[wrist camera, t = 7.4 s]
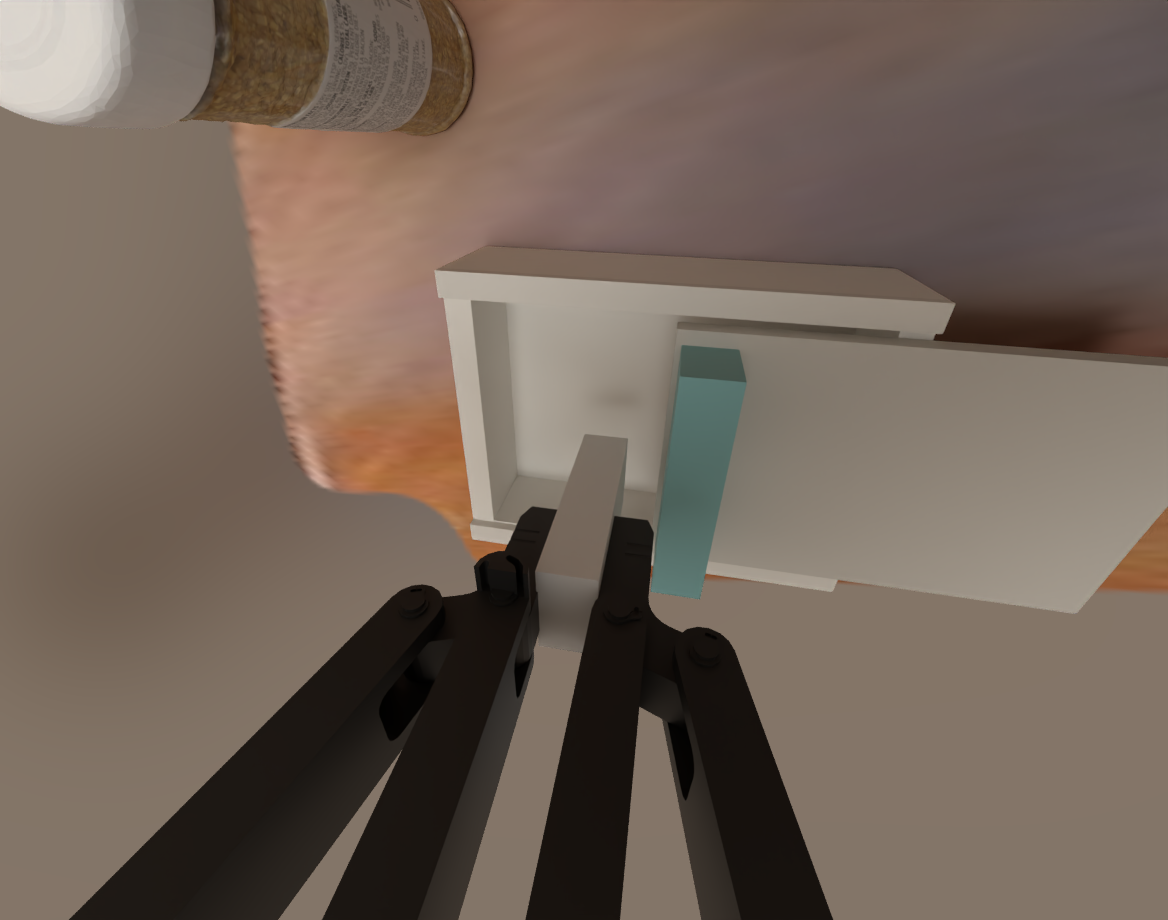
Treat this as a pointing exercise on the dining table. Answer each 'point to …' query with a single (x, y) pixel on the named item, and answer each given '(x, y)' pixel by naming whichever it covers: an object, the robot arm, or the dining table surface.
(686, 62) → the dining table surface
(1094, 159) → the dining table surface
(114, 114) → the sprinkles bottle
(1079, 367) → the lid
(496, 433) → the mailer box
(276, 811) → the robot arm
